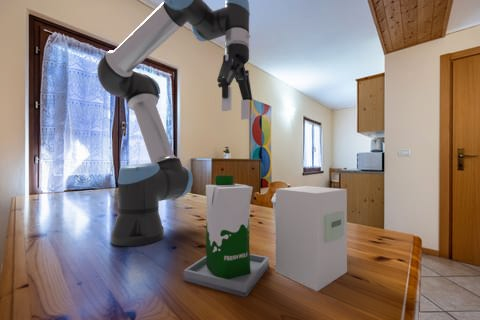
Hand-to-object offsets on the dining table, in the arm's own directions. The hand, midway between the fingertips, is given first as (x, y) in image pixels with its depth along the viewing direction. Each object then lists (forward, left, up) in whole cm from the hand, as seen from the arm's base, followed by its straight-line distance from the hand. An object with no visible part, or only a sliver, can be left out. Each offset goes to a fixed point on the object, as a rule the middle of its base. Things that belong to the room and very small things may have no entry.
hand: (236, 115), depth 71 cm
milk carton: (+8, -21, -38) cm, 44 cm away
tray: (+8, -20, -39) cm, 44 cm away
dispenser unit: (+24, -12, -39) cm, 47 cm away
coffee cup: (+16, +1, -39) cm, 42 cm away
